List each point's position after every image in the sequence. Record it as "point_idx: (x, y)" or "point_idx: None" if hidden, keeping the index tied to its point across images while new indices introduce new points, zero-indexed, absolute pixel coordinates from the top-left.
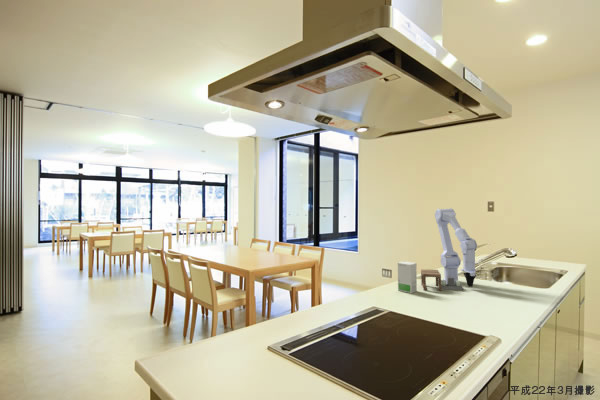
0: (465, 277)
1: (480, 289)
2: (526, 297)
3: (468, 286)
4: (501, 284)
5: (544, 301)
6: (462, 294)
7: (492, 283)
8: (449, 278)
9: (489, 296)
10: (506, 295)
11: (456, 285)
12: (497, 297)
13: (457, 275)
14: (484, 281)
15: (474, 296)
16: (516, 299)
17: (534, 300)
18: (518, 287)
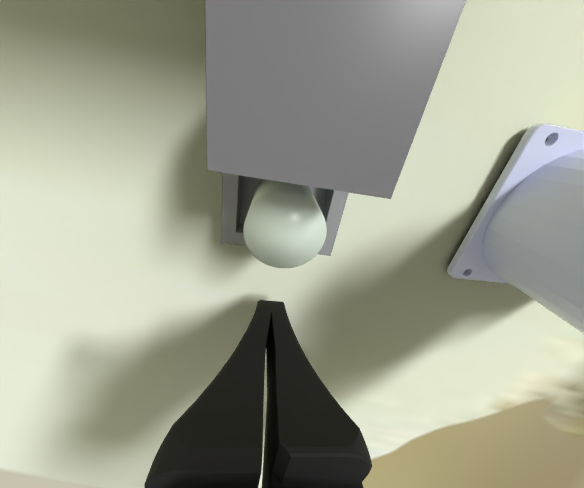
0: (302, 377)
1: None
2: (127, 455)
3: (258, 301)
4: (370, 441)
5: (80, 476)
6: (28, 164)
7: (399, 422)
8: (208, 8)
9: (69, 347)
10: (138, 414)
11: (259, 187)
12: (63, 375)
13: (572, 324)
14: (453, 407)
15: (4, 255)
16: (63, 426)
17: (81, 462)
18: None
